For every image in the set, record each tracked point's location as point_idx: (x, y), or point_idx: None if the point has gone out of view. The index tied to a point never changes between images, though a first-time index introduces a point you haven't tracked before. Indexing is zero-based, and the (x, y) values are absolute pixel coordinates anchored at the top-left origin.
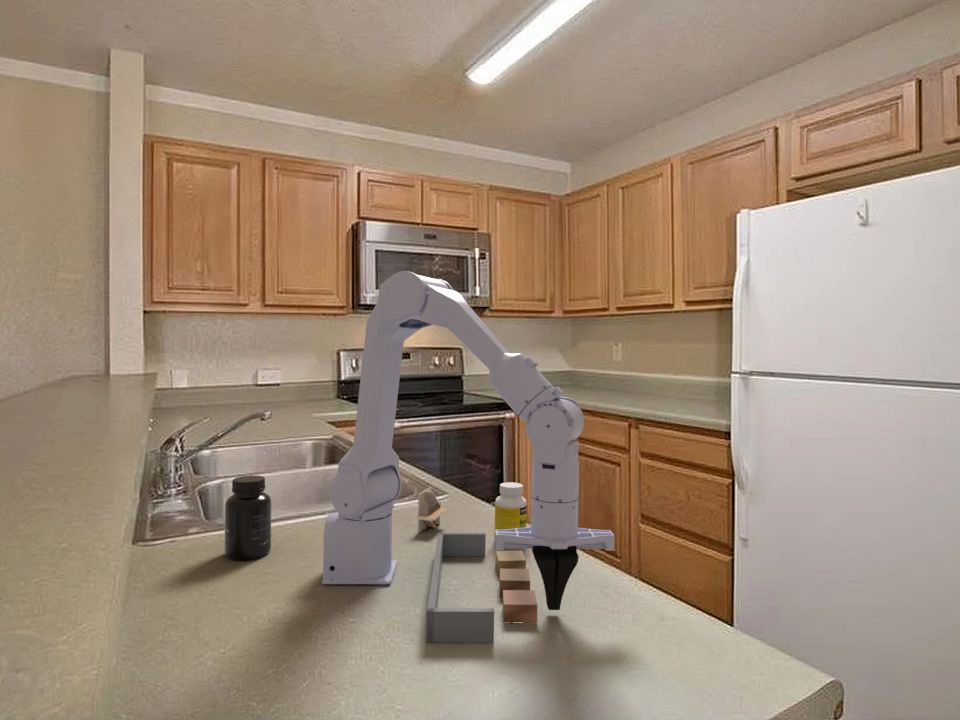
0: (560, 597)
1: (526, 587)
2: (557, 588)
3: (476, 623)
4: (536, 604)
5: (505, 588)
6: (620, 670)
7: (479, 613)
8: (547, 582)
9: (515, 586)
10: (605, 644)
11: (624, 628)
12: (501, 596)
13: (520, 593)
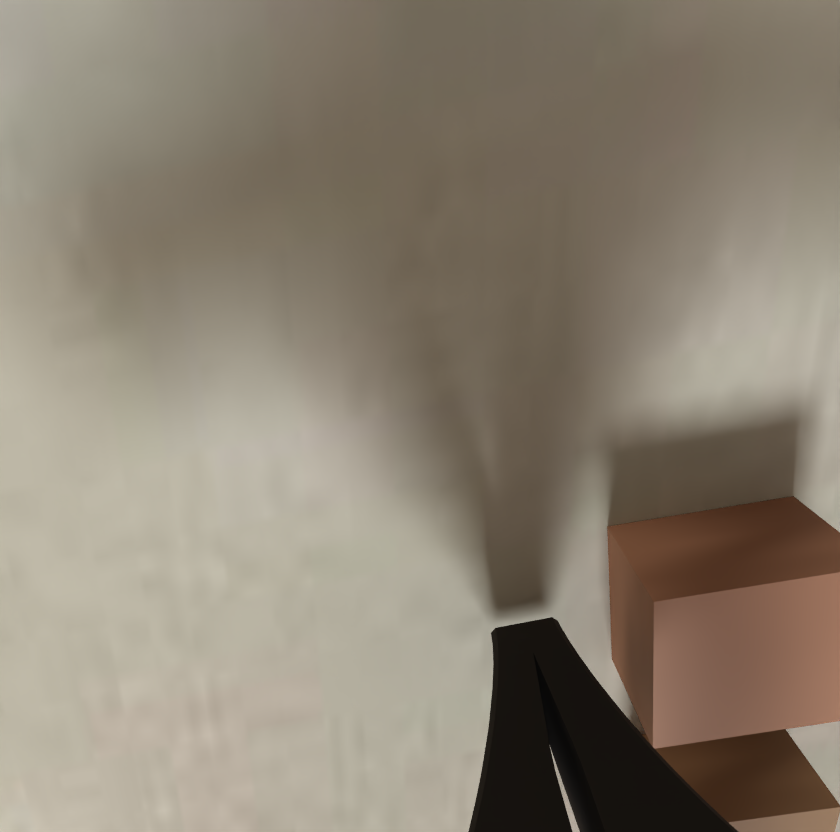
0: (504, 687)
1: None
2: (543, 740)
3: None
4: (658, 605)
5: (776, 764)
6: (79, 91)
7: None
8: (645, 772)
9: (730, 783)
10: (217, 394)
11: (136, 574)
12: None
13: (744, 704)
